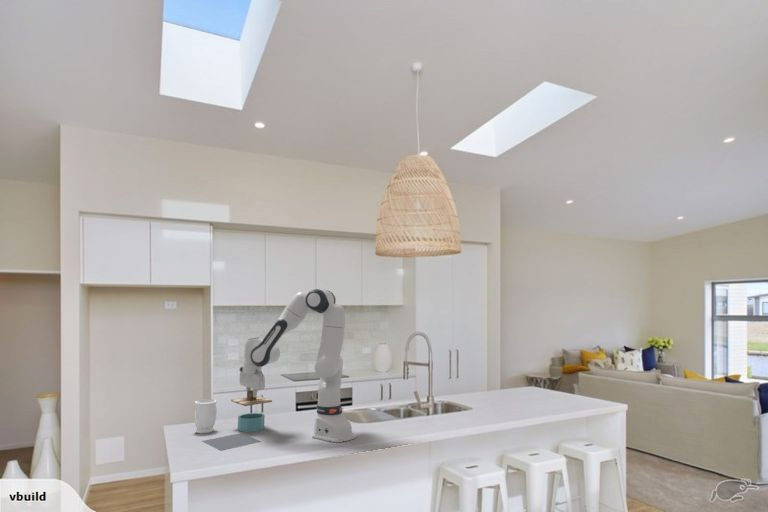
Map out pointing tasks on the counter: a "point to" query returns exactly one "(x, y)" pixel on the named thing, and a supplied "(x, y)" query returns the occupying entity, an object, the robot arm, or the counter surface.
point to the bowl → (251, 422)
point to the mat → (231, 441)
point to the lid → (251, 400)
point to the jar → (205, 415)
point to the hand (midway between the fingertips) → (251, 396)
